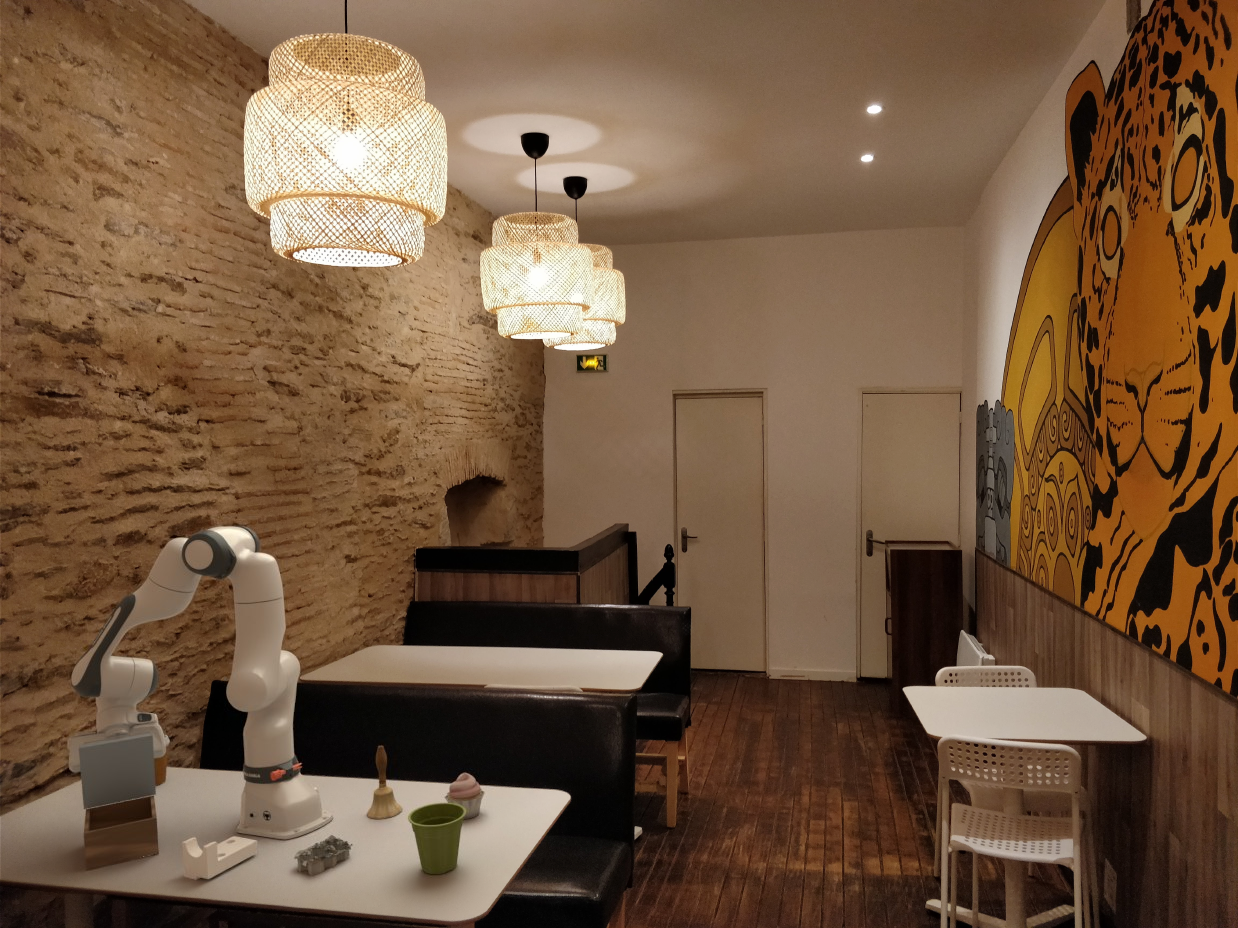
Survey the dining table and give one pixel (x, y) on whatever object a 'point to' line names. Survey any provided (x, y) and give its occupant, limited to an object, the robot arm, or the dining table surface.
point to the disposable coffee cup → (161, 765)
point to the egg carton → (323, 855)
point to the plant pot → (437, 835)
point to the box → (120, 832)
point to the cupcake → (466, 794)
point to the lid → (117, 770)
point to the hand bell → (383, 792)
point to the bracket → (215, 856)
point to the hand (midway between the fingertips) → (119, 779)
